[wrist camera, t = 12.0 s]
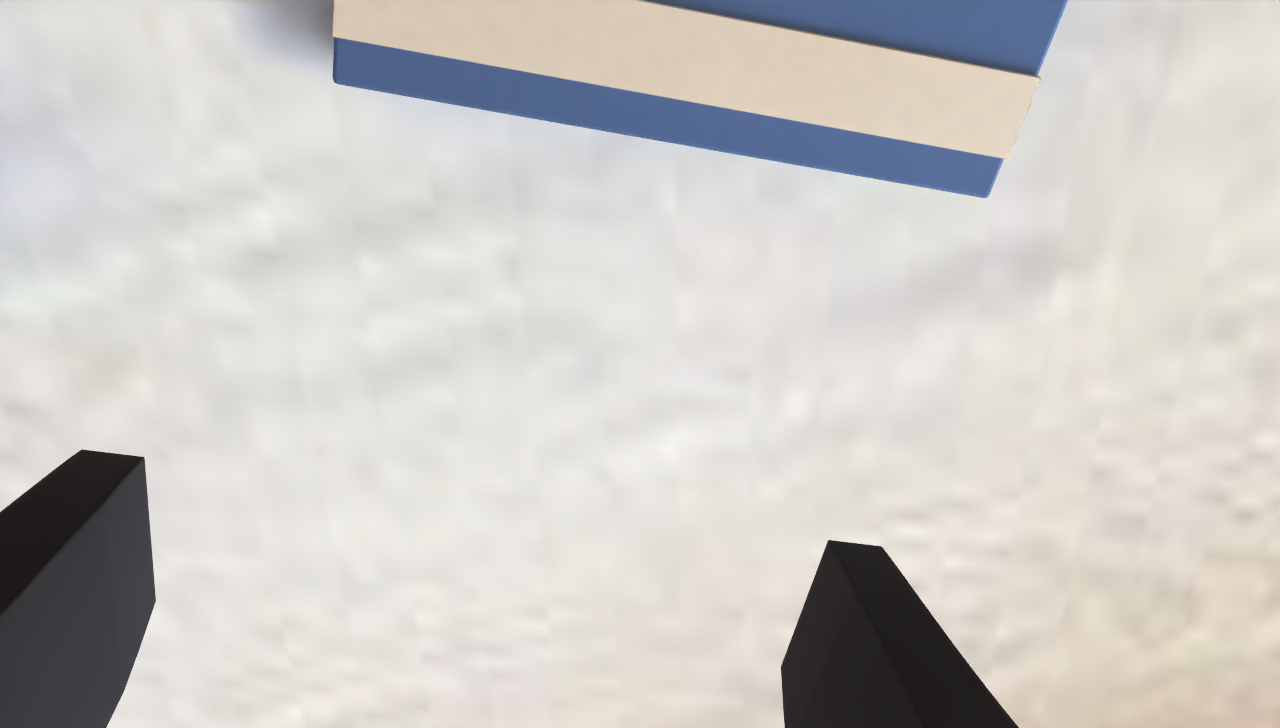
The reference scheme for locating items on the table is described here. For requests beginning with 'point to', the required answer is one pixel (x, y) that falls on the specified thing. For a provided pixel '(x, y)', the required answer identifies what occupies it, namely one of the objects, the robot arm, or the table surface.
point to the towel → (730, 73)
